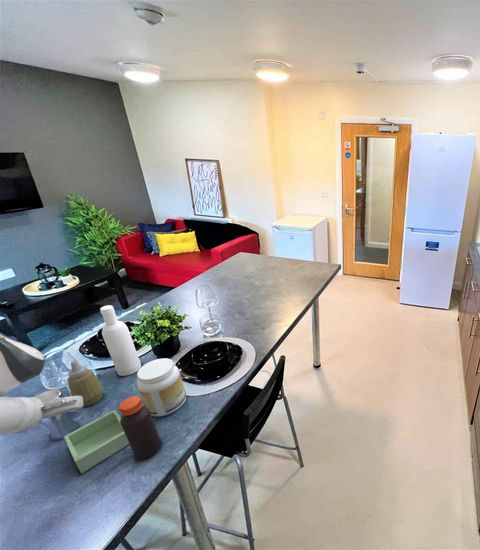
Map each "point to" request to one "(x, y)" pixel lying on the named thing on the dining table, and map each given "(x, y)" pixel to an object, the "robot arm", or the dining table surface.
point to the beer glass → (57, 417)
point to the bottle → (119, 343)
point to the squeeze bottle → (84, 384)
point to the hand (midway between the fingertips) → (47, 413)
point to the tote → (96, 441)
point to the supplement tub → (161, 387)
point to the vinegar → (139, 428)
